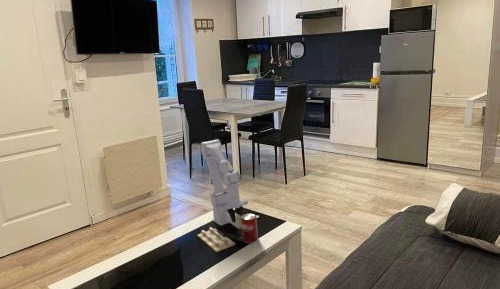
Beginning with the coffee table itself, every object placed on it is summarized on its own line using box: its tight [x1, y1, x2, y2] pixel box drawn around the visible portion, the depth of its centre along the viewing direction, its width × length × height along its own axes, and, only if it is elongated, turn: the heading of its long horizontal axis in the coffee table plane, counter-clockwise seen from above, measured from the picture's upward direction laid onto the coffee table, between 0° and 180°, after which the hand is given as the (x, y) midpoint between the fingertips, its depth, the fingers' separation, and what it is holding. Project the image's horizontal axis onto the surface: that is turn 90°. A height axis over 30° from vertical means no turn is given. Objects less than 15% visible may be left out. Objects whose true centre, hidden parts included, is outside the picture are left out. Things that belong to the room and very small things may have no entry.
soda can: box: [241, 213, 259, 244], centre depth 174 cm, size 7×7×12 cm
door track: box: [197, 226, 236, 253], centre depth 177 cm, size 20×10×2 cm, turn 33°
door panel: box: [229, 212, 243, 230], centre depth 182 cm, size 9×2×6 cm, turn 33°
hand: (236, 221), depth 182 cm, fingers closed on door panel, 2 cm apart
